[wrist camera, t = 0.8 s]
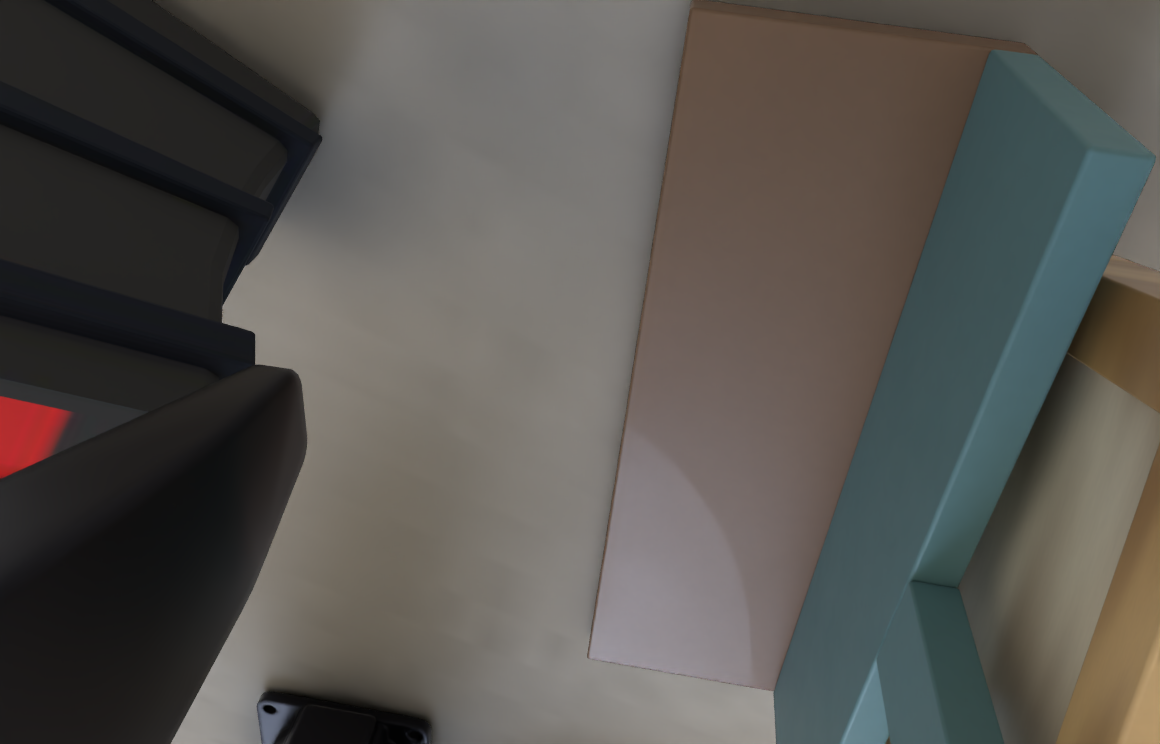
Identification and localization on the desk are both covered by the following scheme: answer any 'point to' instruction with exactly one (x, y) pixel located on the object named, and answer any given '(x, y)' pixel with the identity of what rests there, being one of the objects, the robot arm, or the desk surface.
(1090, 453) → the picture frame
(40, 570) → the robot arm
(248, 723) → the desk surface
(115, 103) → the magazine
